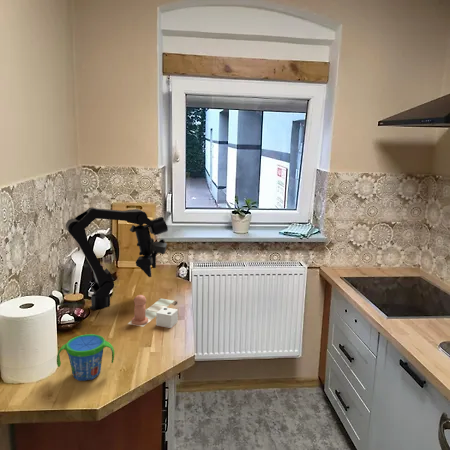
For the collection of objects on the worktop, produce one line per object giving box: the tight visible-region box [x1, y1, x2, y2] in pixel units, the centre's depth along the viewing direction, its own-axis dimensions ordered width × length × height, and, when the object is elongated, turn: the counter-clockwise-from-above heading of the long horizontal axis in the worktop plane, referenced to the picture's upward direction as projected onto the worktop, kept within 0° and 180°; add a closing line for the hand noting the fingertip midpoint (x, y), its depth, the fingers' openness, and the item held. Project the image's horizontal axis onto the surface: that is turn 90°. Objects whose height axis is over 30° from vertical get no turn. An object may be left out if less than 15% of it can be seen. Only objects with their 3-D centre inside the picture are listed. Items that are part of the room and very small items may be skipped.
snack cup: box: [56, 333, 115, 382], centre depth 112 cm, size 16×10×10 cm
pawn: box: [131, 294, 149, 326], centre depth 145 cm, size 6×6×10 cm
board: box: [127, 297, 178, 328], centre depth 156 cm, size 28×9×1 cm, turn 163°
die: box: [155, 307, 179, 329], centre depth 146 cm, size 6×6×6 cm
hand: (152, 272), depth 168 cm, fingers open, 9 cm apart
